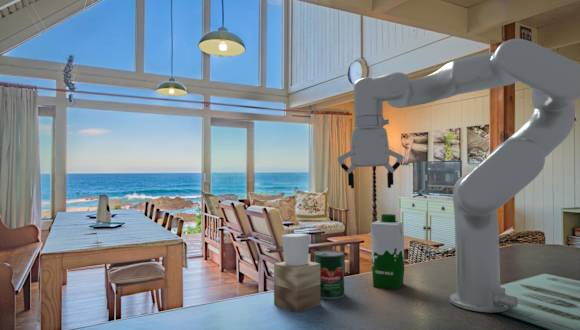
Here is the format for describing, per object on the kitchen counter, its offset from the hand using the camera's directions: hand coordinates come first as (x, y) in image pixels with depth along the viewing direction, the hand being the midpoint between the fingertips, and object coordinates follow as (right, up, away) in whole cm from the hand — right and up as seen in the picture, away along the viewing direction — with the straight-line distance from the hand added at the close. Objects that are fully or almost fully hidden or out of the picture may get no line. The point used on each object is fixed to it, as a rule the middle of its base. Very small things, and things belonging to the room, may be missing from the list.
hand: (370, 188), depth 100 cm
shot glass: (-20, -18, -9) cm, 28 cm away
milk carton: (+7, -29, +8) cm, 30 cm away
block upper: (-20, -23, -9) cm, 32 cm away
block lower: (-20, -28, -9) cm, 35 cm away
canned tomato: (-11, -28, -1) cm, 31 cm away
